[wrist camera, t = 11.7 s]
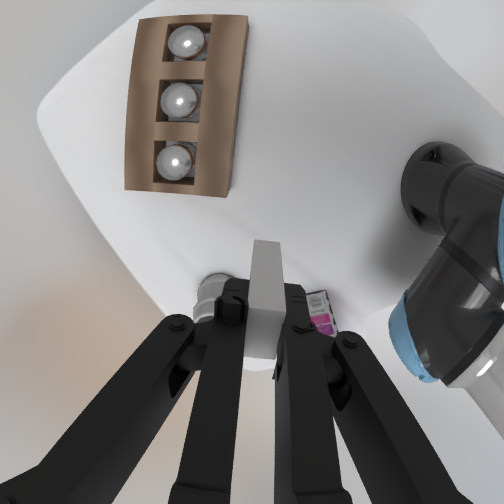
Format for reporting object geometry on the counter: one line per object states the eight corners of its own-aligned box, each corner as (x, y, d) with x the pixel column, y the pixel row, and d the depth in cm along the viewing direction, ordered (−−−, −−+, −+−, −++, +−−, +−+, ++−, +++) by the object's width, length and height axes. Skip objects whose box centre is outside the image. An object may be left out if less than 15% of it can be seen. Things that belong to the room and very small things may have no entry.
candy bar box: (297, 295, 48) (309, 368, 33) (325, 288, 47) (348, 359, 32) (306, 340, 52) (317, 411, 38) (331, 335, 52) (349, 404, 37)
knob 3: (199, 143, 37) (191, 146, 32) (197, 174, 39) (189, 181, 34) (168, 141, 37) (156, 145, 32) (167, 172, 39) (155, 179, 34)
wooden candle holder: (249, 27, 29) (247, 15, 25) (230, 188, 40) (226, 197, 35) (152, 28, 29) (139, 19, 25) (138, 181, 40) (124, 189, 35)
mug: (205, 265, 46) (190, 311, 35) (274, 287, 47) (277, 337, 36) (194, 301, 49) (179, 349, 38) (258, 320, 50) (257, 371, 40)
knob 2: (205, 87, 33) (197, 82, 29) (202, 118, 35) (193, 118, 31) (173, 86, 33) (161, 83, 29) (170, 117, 35) (158, 117, 30)
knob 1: (212, 35, 30) (206, 24, 25) (208, 64, 32) (201, 56, 27) (180, 35, 29) (170, 26, 25) (176, 63, 31) (165, 57, 27)
